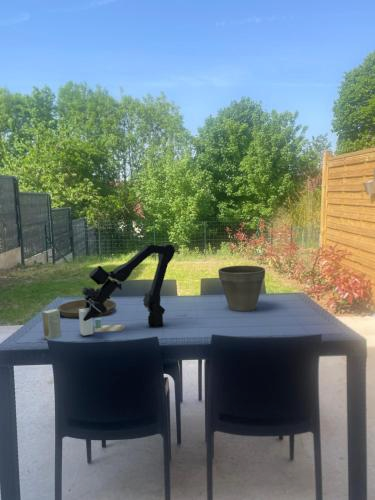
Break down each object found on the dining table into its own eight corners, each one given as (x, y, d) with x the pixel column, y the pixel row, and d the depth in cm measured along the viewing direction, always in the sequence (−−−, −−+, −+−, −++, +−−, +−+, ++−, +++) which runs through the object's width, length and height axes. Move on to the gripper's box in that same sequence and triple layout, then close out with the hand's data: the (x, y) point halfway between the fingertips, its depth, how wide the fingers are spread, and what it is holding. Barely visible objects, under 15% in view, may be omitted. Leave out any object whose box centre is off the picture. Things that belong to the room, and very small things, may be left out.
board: (125, 325, 204) (125, 324, 204) (122, 332, 194) (122, 330, 194) (95, 326, 204) (95, 325, 204) (91, 333, 194) (91, 331, 194)
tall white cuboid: (90, 330, 192) (88, 307, 191) (93, 333, 187) (91, 310, 186) (80, 332, 190) (78, 309, 189) (82, 335, 186) (81, 311, 184)
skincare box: (56, 335, 193) (54, 308, 192) (61, 336, 190) (60, 309, 189) (43, 338, 188) (41, 311, 187) (49, 340, 185) (47, 312, 184)
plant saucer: (120, 316, 223) (120, 308, 222) (58, 323, 213) (58, 314, 213) (112, 304, 252) (112, 296, 252) (57, 309, 243) (57, 301, 242)
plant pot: (244, 316, 215) (243, 274, 212) (209, 308, 233) (208, 269, 231) (275, 307, 231) (274, 268, 229) (240, 301, 249) (240, 264, 247)
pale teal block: (101, 326, 202) (101, 318, 202) (101, 327, 200) (100, 319, 200) (96, 326, 202) (95, 318, 202) (95, 328, 200) (95, 319, 199)
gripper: (87, 277, 197) (64, 303, 193) (97, 283, 180) (72, 312, 176) (105, 292, 201) (83, 318, 197) (116, 299, 184) (92, 328, 181)
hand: (82, 319), depth 188 cm, fingers closed on tall white cuboid, 5 cm apart
